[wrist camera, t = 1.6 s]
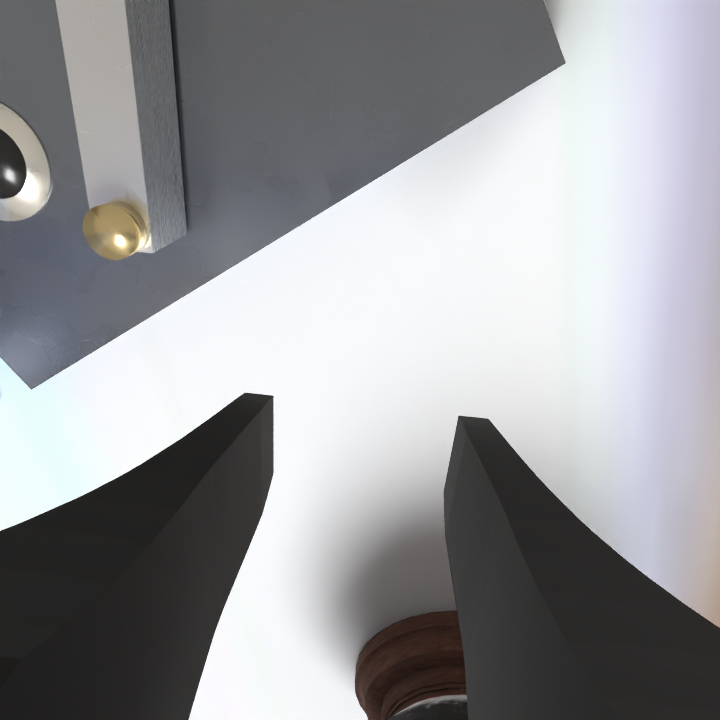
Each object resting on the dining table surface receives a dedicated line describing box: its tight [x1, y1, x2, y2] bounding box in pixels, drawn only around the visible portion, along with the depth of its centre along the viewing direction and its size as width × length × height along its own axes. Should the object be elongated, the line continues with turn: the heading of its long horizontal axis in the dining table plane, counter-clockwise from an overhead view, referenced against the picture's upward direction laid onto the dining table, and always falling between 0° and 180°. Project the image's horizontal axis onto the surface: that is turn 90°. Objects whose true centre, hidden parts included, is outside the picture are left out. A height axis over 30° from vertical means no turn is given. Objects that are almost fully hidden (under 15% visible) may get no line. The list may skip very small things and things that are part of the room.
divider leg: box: [55, 0, 187, 260], centre depth 12 cm, size 11×2×3 cm, turn 176°
